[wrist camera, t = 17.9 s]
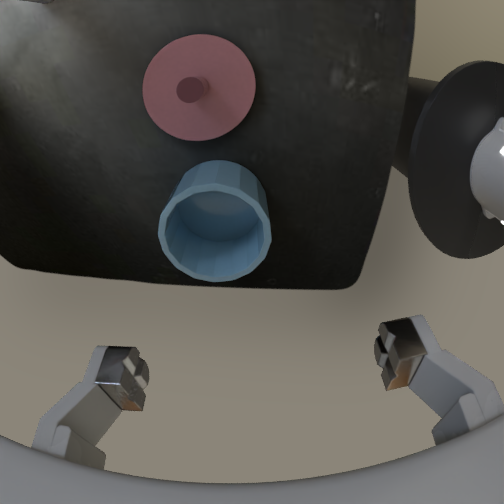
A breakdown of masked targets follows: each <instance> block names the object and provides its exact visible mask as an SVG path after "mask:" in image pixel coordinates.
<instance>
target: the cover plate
mask: <svg viewBox="0 0 504 504" xmlns="http://www.w3.org/2000/svg"><path fill="white" fill-rule="evenodd" d="M255 88H256V83H255V75H254V71H253V68H252V65H251V63H250V62H249V60H248V58H247V57H246V55H245V54H244V53H243V52H242V51H241V50H240V49H239V48H238V47H237V46H235V45H234V44H233V43H231V42H229V41H228V40H226V39H223V38H221V37H217V36H213V35H206V34H196V35H189V36H186V37H182V38H179V39H177V40H175V41H173V42H171V43H169V44H168V45H166V46H165V47H164V48H162V49H161V50H160V51H159V52H158V53H157V54H156V55H155V57H154V58H153V59H152V61H151V62H150V64H149V66H148V68H147V70H146V73H145V76H144V80H143V100H144V104H145V107H146V109H147V112H148V113H149V115H150V117H151V118H152V120H153V121H154V122H155V123H156V124H157V125H158V126H159V127H160V128H161V129H162V130H164V131H165V132H167V133H168V134H170V135H172V136H174V137H177V138H180V139H184V140H190V141H203V140H209V139H214V138H217V137H219V136H222V135H224V134H226V133H228V132H229V131H231V130H232V129H234V128H235V127H236V126H237V125H238V124H239V123H240V122H241V121H242V120H243V119H244V117H245V116H246V115H247V113H248V111H249V110H250V108H251V105H252V103H253V100H254V96H255Z"/></svg>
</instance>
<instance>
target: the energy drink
mask: <svg viewBox="0 0 504 504" xmlns="http://www.w3.org/2000/svg"><path fill="white" fill-rule="evenodd" d="M22 1H30V2H37V3H50V2H52V1H54V0H22Z"/></svg>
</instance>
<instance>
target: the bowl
mask: <svg viewBox="0 0 504 504" xmlns="http://www.w3.org/2000/svg"><path fill="white" fill-rule="evenodd" d="M158 237H159V240H160V243H161V246H162V249H163V252H164V254H165V255H166V256H167V257H168V259H169V260H170V261H171V262H172V263H173V264H174V266H175V267H177V268H178V269H179V270H181V271H183V272H184V273H186V274H188V275H190V276H191V277H193V278H196V279H201V280H206V281H210V282H220V281H230V280H235V279H237V278H239V277H241V276H244V275H246V274H248V273H250V272H252V271H253V270H254V269H255V268H256V267H257V266H258V265H259V264H260V263H261V262H262V261H263V260H264V259H265V257H266V254H267V252H268V249H269V246H270V244H271V240H272V238H271V228H270V219H269V213H268V206H267V200H266V193H265V191H264V189H263V187H262V185H261V183H260V182H259V180H258V179H257V177H256V176H255V175H254V174H253V173H252V172H250V171H249V170H248V169H246V168H245V167H243V166H241V165H239V164H237V163H233V162H230V161H224V160H214V161H208V162H204V163H201V164H199V165H197V166H195V167H193V168H192V169H190V170H189V171H188V172H186V173H185V174H184V175H183V177H182V178H181V179H180V181H179V182H178V184H177V185H176V187H175V188H174V190H173V192H172V194H171V196H170V198H169V200H168V202H167V204H166V205H165V207H164V209H163V211H162V213H161V216H160V222H159V229H158Z"/></svg>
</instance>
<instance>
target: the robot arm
mask: <svg viewBox="0 0 504 504" xmlns="http://www.w3.org/2000/svg"><path fill="white" fill-rule="evenodd" d="M470 186H471V190H472V193H473V195H474V197H475V199H476V200H477V201H478V202H479V203H480V204H481V206H482V210H483V214H484V216H485V217H487V218H488V219H491V218H494V217H496V218H497V219H499V220H500V221H501V223H502V224H503V225H504V117H501V118H500V119H499V120H498V121H497V123H496V125H495V127H494V129H493V130H492V131H491V132H490V133H488V134H487V135H486V136H485V137H484V138H483V139H482V140H481V142H480V143H479V145H478V147H477V149H476V151H475V153H474V156H473V159H472V163H471V168H470ZM378 331H379V334H380V335H379V336H378V337H377V338H376V340H375V344H374V353H375V358H376V361H377V364H378V365H379V366H380V367H382V368H383V371H382V374H381V376H382V379H383V382H384V385H385V388H386V391H387V390H392V389H397V388H401V387H405V386H408V387H409V388H410V389H411V390H412V391H413V392H414V393H415V394H416V395H417V396H419V397H420V398H421V399H422V400H423V401H424V402H425V403H426V404H427V405H428V406H429V407H430V408H431V409H433V410H434V411H435V412H436V413H437V414H438V415H439V416H440V417H441V418H442V419H441V420H440V421H439V422H438V423H437V424H436V425H435V427H434V428H433V430H432V434H433V437H434V441H435V444H436V446H434V447H431V448H428V449H426V450H423V451H420V452H417V453H414V454H411V455H408V456H405V457H402V458H398V459H395V460H392V461H388V462H385V463H381V464H377V465H374V466H370V467H365V468H361V469H356V470H352V471H348V472H342V473H337V474H331V475H326V476H320V477H313V478H306V479H298V480H288V481H277V482H262V483H231V484H230V483H229V484H228V483H195V482H181V481H169V480H160V479H153V478H145V477H139V476H132V475H127V474H121V473H117V472H112V471H107V470H104V465H105V459H106V455H105V453H104V452H103V451H101V450H100V449H98V448H97V447H95V445H96V444H97V443H98V442H99V440H100V439H101V438H102V436H103V435H104V434H105V433H106V431H107V430H108V429H109V428H110V426H111V425H112V424H113V423H114V421H115V420H116V419H117V417H118V416H119V415H120V414H121V412H122V410H129V411H143V406H144V401H145V397H146V396H145V393H144V391H143V389H144V388H145V387H146V386H147V385H148V382H149V369H148V366H147V364H146V362H145V360H143V359H141V358H140V357H139V354H140V352H139V351H138V350H137V348H136V347H121V346H118V347H117V346H97V347H96V348H95V349H94V351H93V354H92V357H91V360H90V362H89V365H88V367H87V370H86V373H85V376H84V379H83V381H82V382H79V383H78V384H76V385H75V386H74V387H73V388H72V389H71V390H70V391H69V392H68V393H67V394H66V395H65V396H64V397H63V398H61V399H60V401H58V402H57V403H56V404H55V405H54V406H53V407H52V408H51V409H50V410H49V411H48V412H47V413H46V414H45V415H44V416H42V418H40V421H39V424H38V427H37V430H36V434H35V438H34V440H33V444H32V447H31V448H30V447H27V446H24V445H22V444H20V443H17V442H15V441H13V440H10V439H8V438H6V437H4V436H1V435H0V504H504V405H503V402H502V400H501V398H500V396H499V393H498V391H497V389H496V387H495V385H494V383H493V381H491V380H490V379H488V378H487V377H485V376H484V375H482V374H481V373H479V372H478V371H477V370H475V369H474V368H472V367H471V366H469V365H468V364H466V363H465V362H463V361H461V360H460V359H459V358H457V357H456V356H454V355H453V354H451V353H450V352H448V351H447V350H441V348H440V346H439V344H438V342H437V340H436V338H435V336H434V334H433V332H432V331H431V329H430V327H429V325H428V323H427V321H426V319H425V318H424V316H423V315H417V316H412V317H408V318H407V317H406V318H401V319H397V320H392V321H387V322H382V323H381V324H380V326H379V329H378Z"/></svg>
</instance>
